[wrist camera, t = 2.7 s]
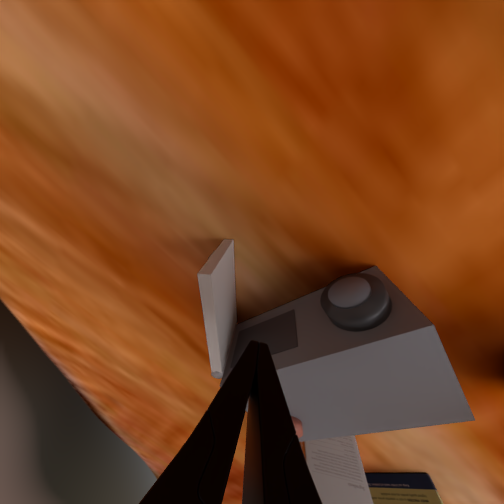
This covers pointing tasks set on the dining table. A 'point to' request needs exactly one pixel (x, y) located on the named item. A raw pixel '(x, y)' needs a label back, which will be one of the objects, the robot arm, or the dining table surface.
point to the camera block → (356, 360)
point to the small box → (337, 470)
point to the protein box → (402, 488)
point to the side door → (219, 304)
